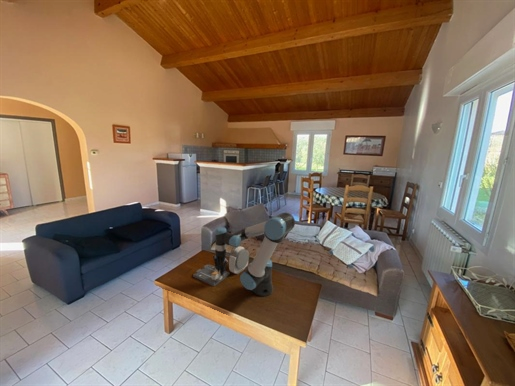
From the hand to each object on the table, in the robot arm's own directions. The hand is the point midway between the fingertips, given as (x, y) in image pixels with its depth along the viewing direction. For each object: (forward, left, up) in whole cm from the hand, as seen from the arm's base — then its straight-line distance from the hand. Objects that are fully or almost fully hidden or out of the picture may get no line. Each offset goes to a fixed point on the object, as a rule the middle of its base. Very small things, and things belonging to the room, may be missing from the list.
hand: (220, 278), depth 159 cm
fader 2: (+5, 0, -2) cm, 5 cm away
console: (+12, -4, -4) cm, 13 cm away
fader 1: (+9, -8, -2) cm, 12 cm away
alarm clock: (-1, -22, -4) cm, 22 cm away
